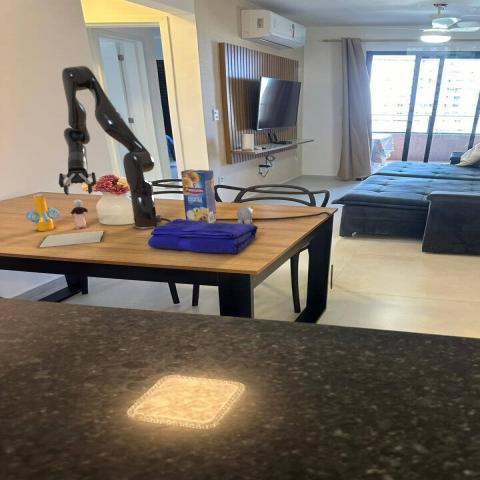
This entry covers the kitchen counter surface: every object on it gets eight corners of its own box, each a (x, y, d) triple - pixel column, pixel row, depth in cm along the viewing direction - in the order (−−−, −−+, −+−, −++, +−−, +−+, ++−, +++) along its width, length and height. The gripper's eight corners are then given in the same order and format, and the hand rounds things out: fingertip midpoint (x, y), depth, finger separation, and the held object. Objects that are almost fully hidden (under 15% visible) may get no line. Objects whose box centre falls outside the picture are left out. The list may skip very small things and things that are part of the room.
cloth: (103, 231, 164) (103, 230, 163) (100, 241, 152) (99, 240, 151) (48, 236, 156) (47, 235, 156) (39, 247, 144) (39, 246, 144)
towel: (181, 230, 168) (180, 210, 165) (259, 236, 162) (258, 216, 159) (146, 250, 143) (143, 228, 140) (236, 258, 138) (235, 235, 135)
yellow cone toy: (43, 234, 159) (36, 199, 154) (22, 232, 160) (14, 197, 156) (67, 226, 170) (61, 193, 165) (47, 224, 172) (40, 191, 167)
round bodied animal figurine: (259, 220, 186) (259, 203, 183) (249, 227, 175) (248, 208, 172) (245, 218, 187) (245, 202, 184) (234, 225, 176) (233, 207, 173)
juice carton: (216, 220, 183) (213, 170, 175) (208, 224, 176) (204, 173, 168) (194, 218, 186) (190, 169, 178) (185, 222, 179) (180, 171, 171)
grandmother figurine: (75, 230, 165) (70, 201, 161) (71, 228, 167) (65, 200, 163) (93, 226, 171) (88, 198, 167) (89, 224, 173) (84, 197, 169)
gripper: (57, 159, 169) (56, 189, 162) (93, 158, 174) (95, 187, 168) (61, 169, 175) (61, 199, 169) (97, 168, 180) (98, 197, 174)
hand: (78, 193), depth 168 cm, fingers open, 8 cm apart
